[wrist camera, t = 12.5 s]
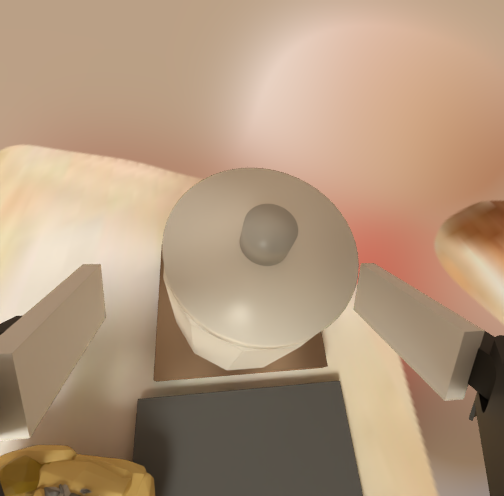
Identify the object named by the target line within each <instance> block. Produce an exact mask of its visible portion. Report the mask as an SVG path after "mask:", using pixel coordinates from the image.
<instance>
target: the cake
mask: <svg viewBox="0 0 504 496" xmlns="http://www.w3.org/2000/svg"><path fill="white" fill-rule="evenodd" d="M0 482H1V485H2V489H3V492H4V495H5V496H155V486H154V478H153V477H152V476H151V475H150V474H149V473H147V472H146V469H145V467H144V466H142V465H139V464H136V463H134V462H131V461H128V460H124V459H116V458H107V457H98V456H89V455H80V454H77V453H76V452H75V451H74V450H73V449H72V448H71V447H69V446H62V445H35V446H31V447H28V448H24V449H20V450H17V451H13V452H9V453H7V454H4V455H2V456H0Z"/></svg>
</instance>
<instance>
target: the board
mask: <svg viewBox="0 0 504 496" xmlns="http://www.w3.org/2000/svg"><path fill="white" fill-rule="evenodd" d="M163 273H164V262H163V256H162V251H161V268H160V284H159V300H158V317H157V333H156V349H155V366H154V381H168V380H180V379H192V378H204V377H216V376H228V375H241V374H253V373H265V372H277V371H289V370H302V369H314V368H323V367H326V366H327V361H326V355H325V350H324V345H323V340H322V334H321V332H319V333H318V334H316V335H315V336H314V337H312V338H311V339H310V340H308V341H307V342H306V343H304V344H303V345H302V346H301V347H299V348H297V349H296V350H294V351H292V352H290V353H288V354H287V355H285V356H283V357H281V358H279V359H278V360H276V361H274V362H272V363H270V364H269V365H267V366H265V367H263V368H251V369H239V370H225V369H223V368H221V367H219V366H218V365H216V364H214V363H212V362H210V361H208V360H206V359H204V358H202V357H201V356H199V355H197V354H195V353H194V352H193V350H192V348H191V347H190V345H189V343H188V342H187V340H186V338H185V336H184V335H183V333H182V331H181V329H180V328H179V326H178V324H177V323H176V319H175V316H174V312H173V309H172V306H171V302H170V299H169V295H168V292H167V289H166V285H165V282H164V278H163Z"/></svg>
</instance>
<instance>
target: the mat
mask: <svg viewBox="0 0 504 496" xmlns="http://www.w3.org/2000/svg"><path fill="white" fill-rule="evenodd" d="M133 462H134V463H136V464H139V465H142V466H144V467H145V469H146V472H147V473H149V474H150V475H151V476H152V477H153V478H154V486H155V496H363V494H362V489H361V484H360V479H359V474H358V469H357V464H356V459H355V455H354V450H353V445H352V440H351V435H350V430H349V425H348V420H347V415H346V410H345V405H344V400H343V395H342V391H341V386H340V381H331V382H320V383H310V384H299V385H288V386H277V387H266V388H255V389H244V390H233V391H222V392H211V393H200V394H189V395H178V396H168V397H157V398H146V399H138V404H137V417H136V429H135V441H134V454H133Z"/></svg>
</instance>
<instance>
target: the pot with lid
mask: <svg viewBox="0 0 504 496" xmlns="http://www.w3.org/2000/svg"><path fill="white" fill-rule="evenodd" d="M162 256H163V262H164V273H163V278H164V282H165V285H166V289H167V292H168V295H169V299H170V302H171V306H172V309H173V312H174V316H175V319H176V323H177V324H178V326H179V328H180V329H181V331H182V333H183V335H184V336H185V338H186V340H187V342H188V343H189V345H190V347H191V348H192V350H193V352H194V353H195V354H197V355H199V356H201V357H202V358H204V359H206V360H208V361H210V362H212V363H214V364H216V365H218V366H219V367H221V368H223V369H225V370H239V369H251V368H263V367H265V366H267V365H269V364H270V363H272V362H274V361H276V360H278V359H279V358H281V357H283V356H285V355H287V354H288V353H290V352H292V351H294V350H296V349H297V348H299V347H301V346H302V345H303V344H304V343H306V342H307V341H308V340H310V339H311V338H312V337H314V336H315V335H316V334H318V333H319V332H321V331H322V330H324V329H325V328H327V327H328V326H330V325H331V324H332V323H333V322H334V321H335V320H336V319H337V318H338V317H339V316H340V315H341V313H342V312H343V311H344V310H345V308H346V307H347V305H348V303H349V301H350V300H351V298H352V295H353V292H354V290H355V287H356V283H357V278H358V267H359V266H358V265H359V264H358V252H357V248H356V243H355V240H354V237H353V235H352V232H351V230H350V228H349V226H348V224H347V222H346V220H345V219H344V217H343V216H342V214H341V213H340V211H339V210H338V209H337V208H336V207H335V205H334V204H333V203H332V202H331V201H330V200H329V199H328V198H327V197H326V196H325V195H323V194H322V193H321V192H319V191H318V190H317V189H316V188H314V187H312V186H311V185H309V184H308V183H306V182H304V181H302V180H300V179H299V178H296V177H293V176H291V175H289V174H286V173H282V172H279V171H275V170H270V169H263V168H240V169H232V170H227V171H223V172H220V173H217V174H214V175H212V176H210V177H208V178H206V179H203V180H202V181H200V182H199V183H197V184H196V185H194V186H193V187H192V188H190V189H189V190H188V191H187V192H186V193H185V194H184V195H183V196H182V197H181V198H180V199H179V200H178V202H177V203H176V205H175V206H174V208H173V209H172V211H171V213H170V215H169V217H168V220H167V223H166V226H165V229H164V234H163V241H162Z"/></svg>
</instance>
